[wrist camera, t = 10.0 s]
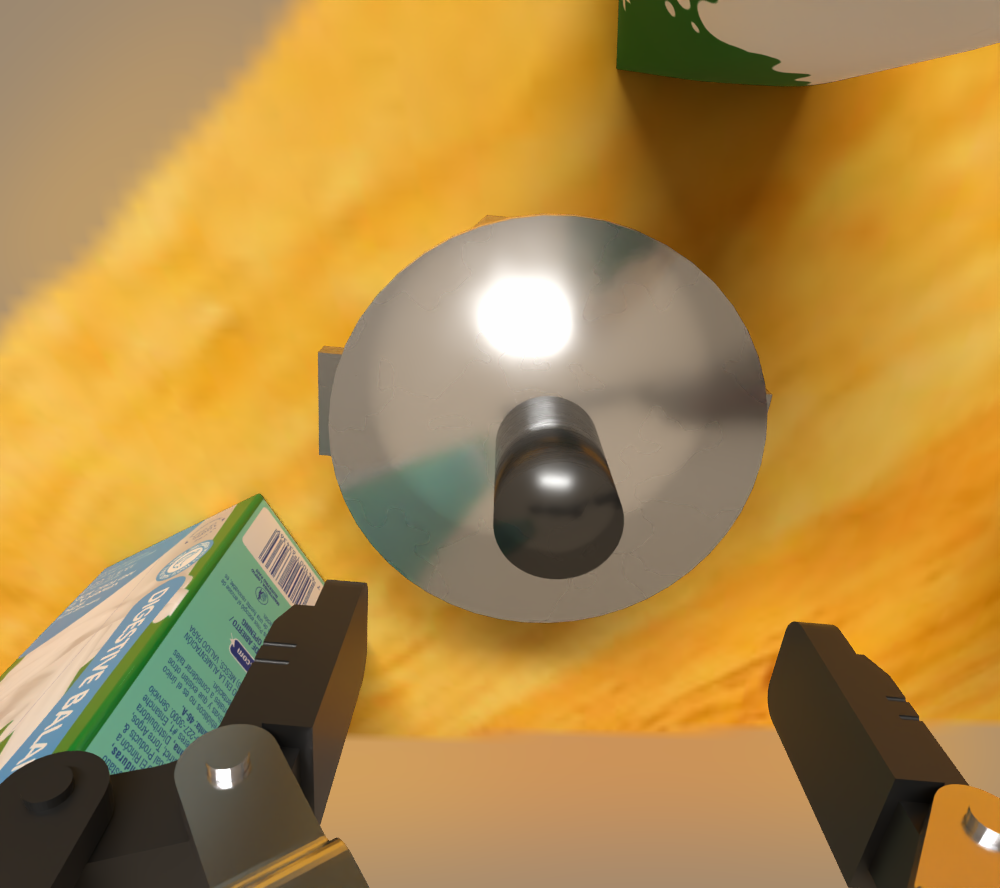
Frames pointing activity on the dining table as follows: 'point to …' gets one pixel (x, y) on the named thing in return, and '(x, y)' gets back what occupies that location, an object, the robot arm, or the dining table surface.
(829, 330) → the dining table surface
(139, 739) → the milk carton
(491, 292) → the lid
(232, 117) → the dining table surface
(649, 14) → the soya milk
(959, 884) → the robot arm
